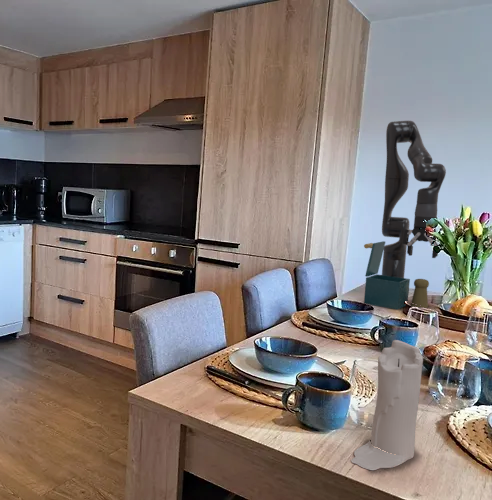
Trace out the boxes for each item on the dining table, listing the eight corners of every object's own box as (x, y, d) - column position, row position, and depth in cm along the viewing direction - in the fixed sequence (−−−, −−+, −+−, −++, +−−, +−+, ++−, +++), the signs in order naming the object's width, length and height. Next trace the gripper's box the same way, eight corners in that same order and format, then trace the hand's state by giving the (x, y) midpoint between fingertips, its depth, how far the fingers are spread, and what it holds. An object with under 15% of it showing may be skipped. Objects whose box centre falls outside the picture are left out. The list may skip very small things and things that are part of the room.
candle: (341, 457, 90) (349, 349, 87) (383, 435, 98) (392, 336, 95) (379, 477, 84) (389, 362, 81) (421, 452, 92) (432, 346, 89)
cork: (423, 304, 203) (426, 277, 202) (430, 308, 197) (433, 280, 196) (408, 304, 204) (410, 277, 202) (414, 307, 198) (417, 280, 196)
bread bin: (407, 305, 202) (409, 278, 201) (397, 309, 195) (400, 282, 193) (374, 299, 211) (376, 274, 210) (363, 303, 204) (365, 277, 202)
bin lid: (385, 241, 206) (373, 238, 210) (375, 243, 199) (362, 240, 202) (377, 273, 210) (365, 270, 213) (367, 276, 202) (354, 273, 205)
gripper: (449, 216, 193) (445, 258, 196) (409, 214, 204) (406, 253, 206) (443, 216, 188) (438, 259, 190) (402, 214, 198) (399, 255, 201)
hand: (421, 256), depth 198 cm, fingers open, 8 cm apart
